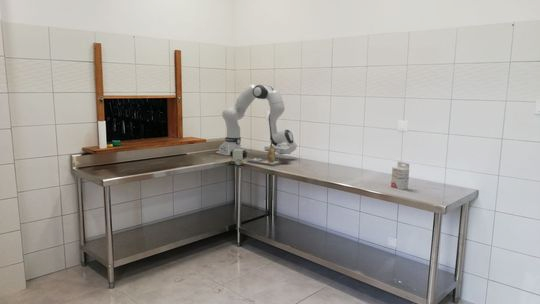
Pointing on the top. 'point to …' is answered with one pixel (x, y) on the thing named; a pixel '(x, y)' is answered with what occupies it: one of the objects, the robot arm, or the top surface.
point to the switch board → (264, 162)
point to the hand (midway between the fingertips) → (270, 150)
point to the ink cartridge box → (400, 176)
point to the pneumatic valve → (238, 155)
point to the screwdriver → (271, 153)
